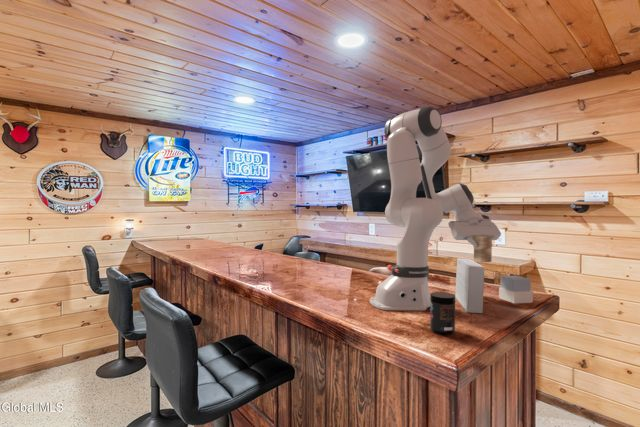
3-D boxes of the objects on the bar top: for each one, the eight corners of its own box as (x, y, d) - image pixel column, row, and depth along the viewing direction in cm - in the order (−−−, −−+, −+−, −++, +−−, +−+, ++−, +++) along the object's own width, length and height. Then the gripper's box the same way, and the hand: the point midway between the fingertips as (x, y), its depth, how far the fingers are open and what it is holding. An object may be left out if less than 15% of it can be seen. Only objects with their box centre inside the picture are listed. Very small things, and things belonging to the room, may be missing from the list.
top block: (513, 291, 125) (513, 279, 125) (500, 287, 132) (501, 276, 132) (530, 291, 126) (530, 279, 126) (516, 286, 133) (516, 275, 133)
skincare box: (484, 314, 112) (485, 266, 111) (467, 313, 113) (467, 266, 112) (469, 298, 132) (470, 257, 132) (455, 297, 133) (455, 257, 133)
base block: (514, 304, 124) (514, 292, 124) (498, 298, 132) (499, 287, 132) (532, 303, 126) (532, 291, 126) (516, 297, 134) (516, 286, 134)
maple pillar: (481, 262, 132) (481, 236, 132) (473, 260, 136) (474, 235, 136) (491, 261, 133) (491, 236, 132) (483, 260, 137) (484, 235, 137)
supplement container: (445, 326, 100) (445, 291, 100) (460, 334, 93) (460, 297, 93) (425, 328, 98) (425, 292, 98) (439, 336, 91) (439, 298, 91)
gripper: (449, 216, 139) (463, 241, 130) (493, 216, 143) (510, 241, 133) (443, 226, 144) (456, 251, 134) (486, 226, 147) (501, 251, 138)
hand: (483, 246), depth 134 cm, fingers closed on maple pillar, 5 cm apart
